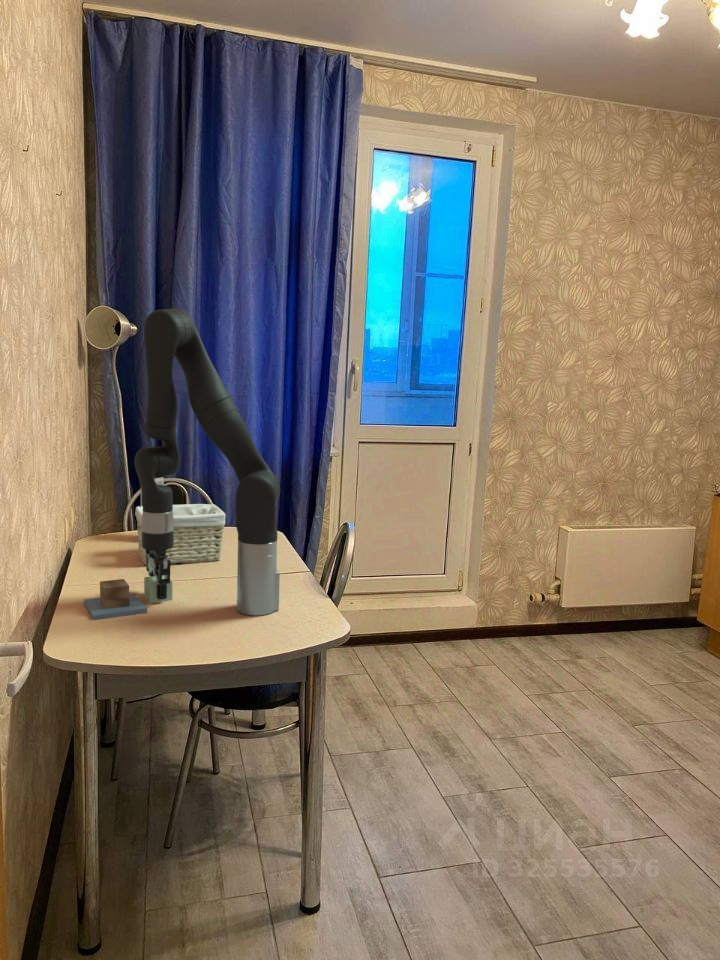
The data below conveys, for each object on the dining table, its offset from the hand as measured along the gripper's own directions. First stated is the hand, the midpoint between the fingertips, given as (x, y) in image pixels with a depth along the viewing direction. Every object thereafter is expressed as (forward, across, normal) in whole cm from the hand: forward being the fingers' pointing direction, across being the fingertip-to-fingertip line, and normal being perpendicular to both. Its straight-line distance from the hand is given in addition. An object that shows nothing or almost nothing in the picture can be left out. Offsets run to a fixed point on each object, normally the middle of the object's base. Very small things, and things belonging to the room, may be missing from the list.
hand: (158, 594), depth 182 cm
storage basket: (+1, +33, -15) cm, 36 cm away
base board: (+1, -3, +11) cm, 11 cm away
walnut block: (0, -3, +11) cm, 11 cm away
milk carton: (+1, +56, -13) cm, 58 cm away
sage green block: (+1, 0, 0) cm, 1 cm away
